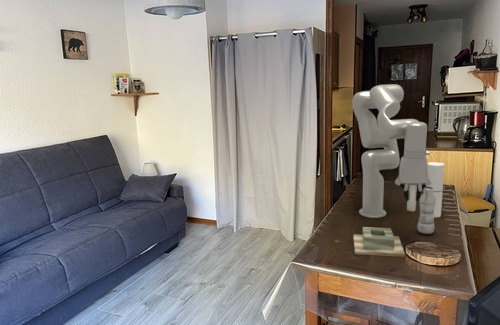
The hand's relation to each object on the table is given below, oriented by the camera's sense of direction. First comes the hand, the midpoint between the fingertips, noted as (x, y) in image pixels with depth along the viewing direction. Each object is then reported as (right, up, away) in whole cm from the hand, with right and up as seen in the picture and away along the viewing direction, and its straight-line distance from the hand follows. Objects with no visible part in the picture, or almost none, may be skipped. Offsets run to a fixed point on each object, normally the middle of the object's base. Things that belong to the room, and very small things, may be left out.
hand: (411, 199), depth 149 cm
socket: (-13, -19, +2) cm, 23 cm away
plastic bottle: (+11, -16, +12) cm, 23 cm away
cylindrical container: (+23, -11, +32) cm, 41 cm away
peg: (0, -4, +1) cm, 4 cm away
